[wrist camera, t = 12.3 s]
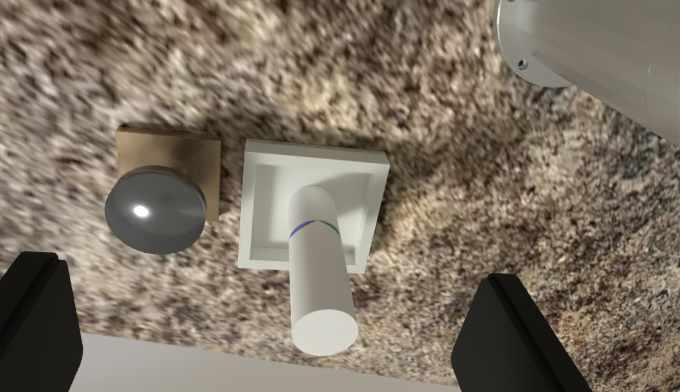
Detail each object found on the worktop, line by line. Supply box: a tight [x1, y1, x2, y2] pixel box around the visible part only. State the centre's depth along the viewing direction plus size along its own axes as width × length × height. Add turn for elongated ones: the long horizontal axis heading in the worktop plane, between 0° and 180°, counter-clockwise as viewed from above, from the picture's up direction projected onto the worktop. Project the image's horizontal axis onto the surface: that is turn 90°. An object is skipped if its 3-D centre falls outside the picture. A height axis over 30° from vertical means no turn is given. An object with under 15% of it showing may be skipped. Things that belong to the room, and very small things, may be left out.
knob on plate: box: [105, 126, 222, 254], centre depth 37 cm, size 8×8×7 cm
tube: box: [288, 186, 358, 356], centre depth 36 cm, size 4×4×15 cm
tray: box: [238, 138, 390, 274], centre depth 42 cm, size 12×12×2 cm
